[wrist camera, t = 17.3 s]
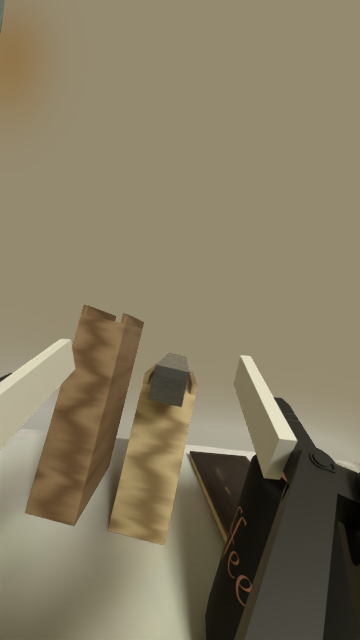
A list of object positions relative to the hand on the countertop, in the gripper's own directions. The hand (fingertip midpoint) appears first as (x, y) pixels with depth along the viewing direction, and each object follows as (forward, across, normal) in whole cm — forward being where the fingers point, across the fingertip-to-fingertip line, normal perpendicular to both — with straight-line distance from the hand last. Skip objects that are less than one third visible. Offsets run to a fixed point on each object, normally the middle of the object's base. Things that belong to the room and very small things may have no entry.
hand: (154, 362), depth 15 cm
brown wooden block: (+6, +14, +30) cm, 33 cm away
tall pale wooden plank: (+5, +2, +32) cm, 32 cm away
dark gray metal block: (+14, -1, +13) cm, 19 cm away
